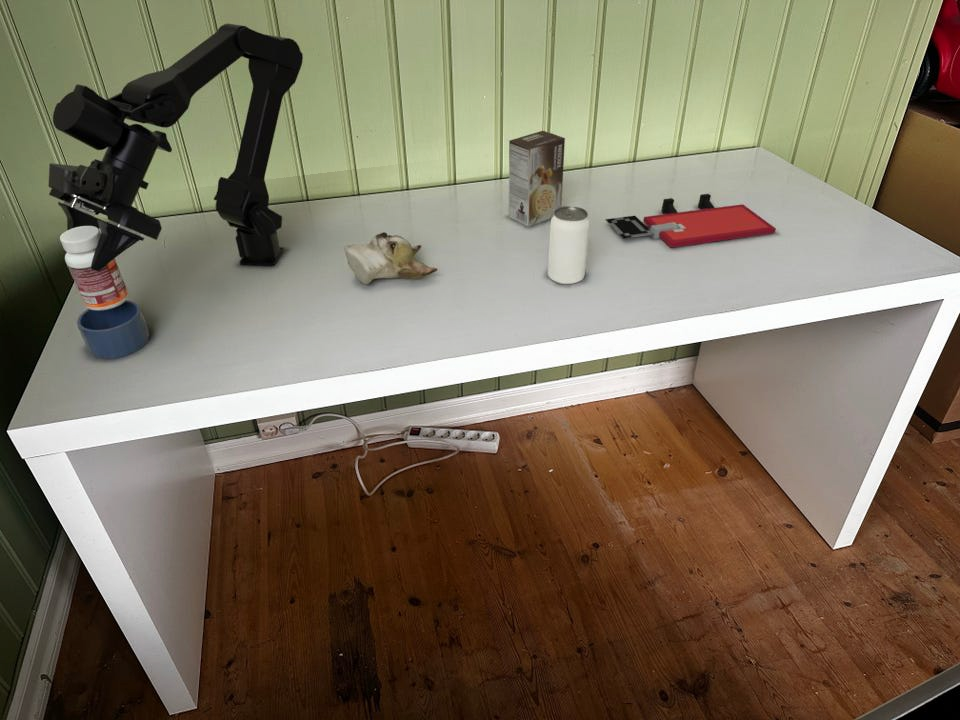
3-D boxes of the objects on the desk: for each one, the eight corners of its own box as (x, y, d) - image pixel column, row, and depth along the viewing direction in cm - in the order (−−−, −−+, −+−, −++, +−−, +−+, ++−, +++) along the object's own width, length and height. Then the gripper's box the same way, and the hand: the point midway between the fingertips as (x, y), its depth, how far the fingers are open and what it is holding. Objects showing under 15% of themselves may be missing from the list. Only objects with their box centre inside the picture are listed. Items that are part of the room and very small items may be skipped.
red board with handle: (600, 219, 138) (633, 254, 127) (602, 206, 136) (636, 241, 125) (731, 203, 145) (773, 235, 133) (734, 190, 143) (777, 221, 132)
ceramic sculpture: (336, 224, 118) (420, 215, 123) (340, 269, 123) (420, 258, 128) (350, 252, 110) (439, 241, 115) (353, 298, 115) (438, 285, 120)
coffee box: (540, 205, 145) (543, 129, 135) (561, 215, 141) (566, 137, 131) (507, 217, 140) (508, 139, 130) (528, 228, 136) (531, 148, 126)
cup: (159, 327, 109) (150, 300, 106) (133, 360, 102) (122, 332, 99) (107, 325, 110) (96, 298, 107) (77, 357, 103) (65, 330, 100)
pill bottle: (133, 303, 103) (107, 235, 96) (89, 316, 101) (59, 248, 94) (124, 286, 107) (98, 220, 100) (82, 298, 105) (52, 231, 98)
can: (560, 289, 117) (565, 224, 110) (540, 272, 122) (543, 209, 115) (591, 280, 120) (598, 216, 112) (571, 264, 124) (576, 202, 117)
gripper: (36, 125, 96) (-10, 227, 96) (113, 151, 88) (63, 263, 87) (107, 161, 106) (66, 254, 106) (182, 188, 98) (138, 288, 97)
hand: (81, 263), depth 99 cm, fingers closed on pill bottle, 6 cm apart
